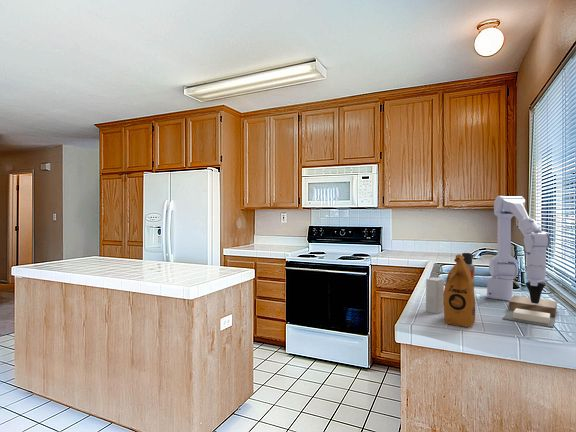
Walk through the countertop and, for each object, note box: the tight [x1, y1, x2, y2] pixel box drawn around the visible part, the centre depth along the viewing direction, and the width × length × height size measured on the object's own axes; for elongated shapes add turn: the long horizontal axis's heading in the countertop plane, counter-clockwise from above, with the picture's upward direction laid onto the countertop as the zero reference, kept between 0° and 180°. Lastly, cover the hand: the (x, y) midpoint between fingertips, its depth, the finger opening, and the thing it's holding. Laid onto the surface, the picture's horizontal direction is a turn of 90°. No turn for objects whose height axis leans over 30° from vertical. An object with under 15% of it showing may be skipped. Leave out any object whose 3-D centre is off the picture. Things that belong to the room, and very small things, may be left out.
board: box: [508, 295, 558, 318], centre depth 137 cm, size 14×13×4 cm
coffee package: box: [443, 254, 476, 328], centre depth 121 cm, size 10×12×22 cm
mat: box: [502, 309, 556, 329], centre depth 126 cm, size 14×14×1 cm
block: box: [513, 308, 550, 324], centre depth 125 cm, size 10×7×2 cm
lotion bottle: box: [461, 252, 476, 288], centre depth 151 cm, size 6×6×20 cm
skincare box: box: [425, 277, 445, 315], centre depth 133 cm, size 6×4×12 cm
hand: (534, 303), depth 132 cm, fingers closed
